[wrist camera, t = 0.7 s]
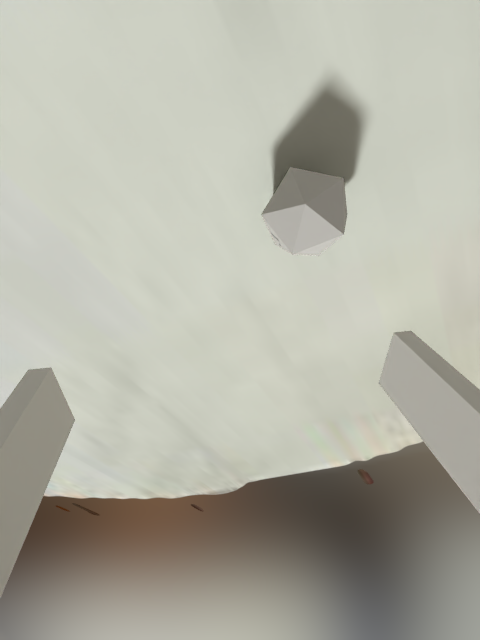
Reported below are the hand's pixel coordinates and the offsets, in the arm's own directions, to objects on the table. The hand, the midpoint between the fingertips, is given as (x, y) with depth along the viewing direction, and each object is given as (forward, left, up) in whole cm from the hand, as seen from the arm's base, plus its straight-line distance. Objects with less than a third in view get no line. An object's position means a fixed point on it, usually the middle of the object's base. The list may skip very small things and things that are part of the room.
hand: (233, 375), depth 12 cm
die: (-3, +8, -26) cm, 28 cm away
